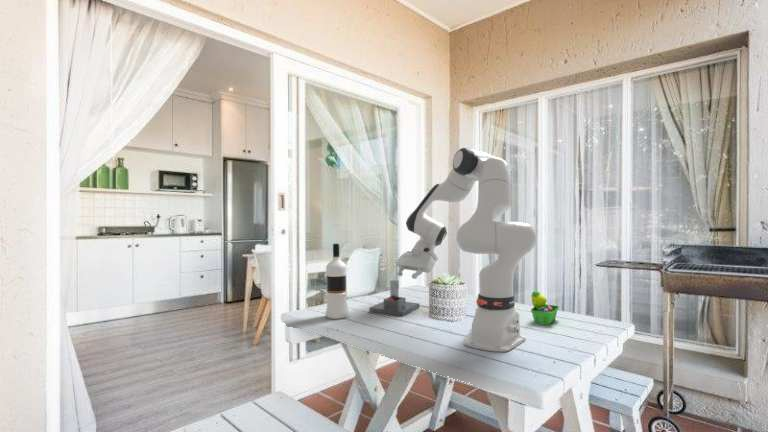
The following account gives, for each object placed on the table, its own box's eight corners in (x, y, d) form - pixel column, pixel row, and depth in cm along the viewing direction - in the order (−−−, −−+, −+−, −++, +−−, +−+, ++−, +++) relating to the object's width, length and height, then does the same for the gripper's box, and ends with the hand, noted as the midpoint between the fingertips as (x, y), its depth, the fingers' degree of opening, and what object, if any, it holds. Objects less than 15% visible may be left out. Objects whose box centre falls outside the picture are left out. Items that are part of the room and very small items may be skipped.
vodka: (336, 321, 160) (334, 245, 160) (321, 317, 166) (319, 243, 166) (353, 316, 167) (352, 243, 166) (338, 312, 173) (337, 242, 173)
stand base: (402, 316, 165) (402, 302, 165) (369, 312, 173) (369, 298, 173) (419, 307, 179) (419, 294, 179) (387, 304, 187) (387, 291, 187)
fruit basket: (551, 326, 149) (551, 295, 149) (527, 322, 154) (526, 292, 154) (559, 319, 158) (559, 290, 158) (536, 315, 163) (535, 287, 163)
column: (396, 306, 173) (396, 282, 173) (388, 305, 175) (388, 281, 175) (400, 304, 177) (400, 280, 176) (392, 303, 179) (392, 279, 178)
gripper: (402, 246, 193) (387, 269, 187) (434, 249, 177) (418, 274, 171) (409, 255, 196) (394, 278, 190) (441, 259, 180) (426, 283, 174)
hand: (406, 276), depth 180 cm, fingers open, 8 cm apart
